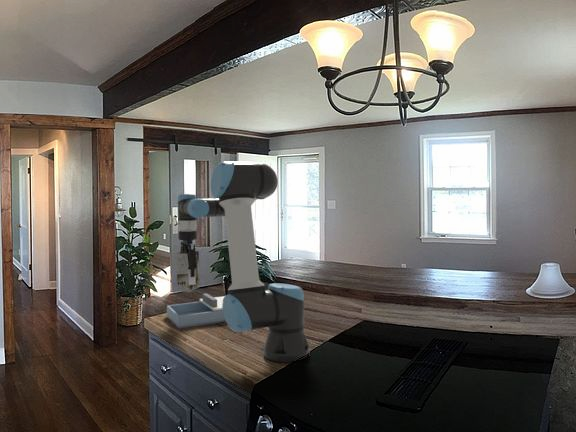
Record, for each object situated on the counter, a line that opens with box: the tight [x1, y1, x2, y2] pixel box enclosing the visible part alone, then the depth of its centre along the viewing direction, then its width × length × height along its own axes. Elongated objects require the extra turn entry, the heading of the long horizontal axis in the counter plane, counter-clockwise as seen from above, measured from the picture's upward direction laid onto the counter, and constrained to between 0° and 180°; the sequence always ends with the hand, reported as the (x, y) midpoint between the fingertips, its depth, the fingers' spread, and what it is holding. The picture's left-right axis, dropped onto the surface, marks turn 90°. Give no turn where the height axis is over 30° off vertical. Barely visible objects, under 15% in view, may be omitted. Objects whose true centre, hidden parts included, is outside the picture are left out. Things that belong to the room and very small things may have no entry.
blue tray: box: [166, 301, 227, 330], centre depth 187 cm, size 20×20×5 cm
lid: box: [199, 292, 226, 311], centre depth 193 cm, size 20×20×4 cm
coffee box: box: [176, 250, 200, 293], centre depth 184 cm, size 9×6×16 cm
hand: (188, 282), depth 185 cm, fingers closed on coffee box, 10 cm apart
